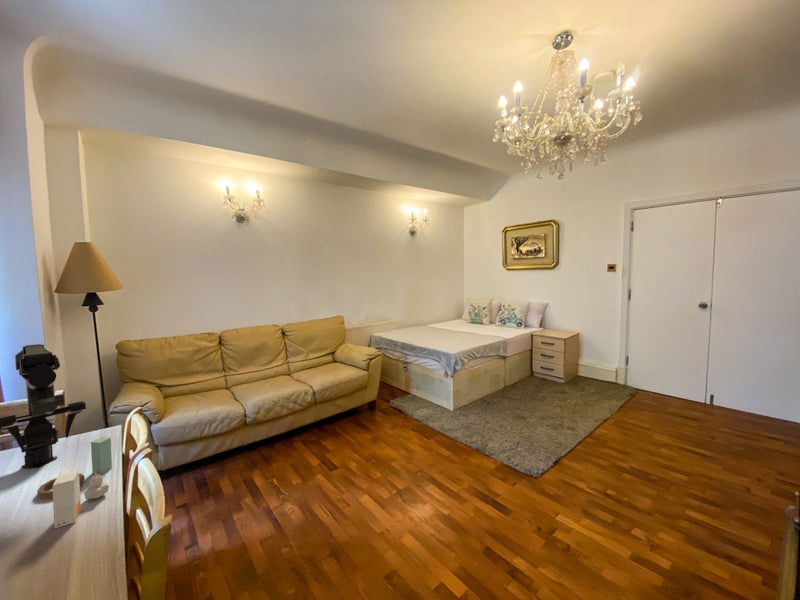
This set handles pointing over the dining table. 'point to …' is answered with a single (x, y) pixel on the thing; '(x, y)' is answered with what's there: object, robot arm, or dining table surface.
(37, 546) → the dining table surface
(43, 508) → the dining table surface
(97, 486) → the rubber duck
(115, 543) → the dining table surface
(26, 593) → the dining table surface
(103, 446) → the green rectangular block
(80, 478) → the walnut ring
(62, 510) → the skincare box
